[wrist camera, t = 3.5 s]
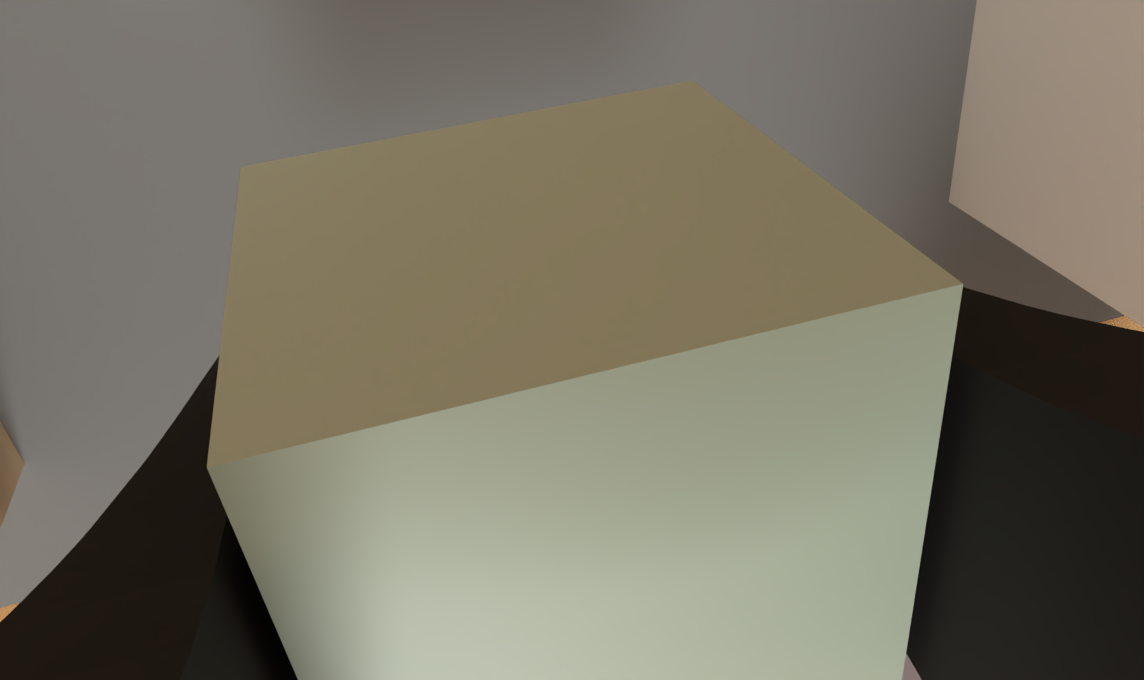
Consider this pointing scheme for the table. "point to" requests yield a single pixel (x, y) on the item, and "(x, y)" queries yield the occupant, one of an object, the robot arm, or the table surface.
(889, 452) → the sage cube
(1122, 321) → the table surface
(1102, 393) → the robot arm
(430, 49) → the mat
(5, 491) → the base block
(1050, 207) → the offwhite cube
